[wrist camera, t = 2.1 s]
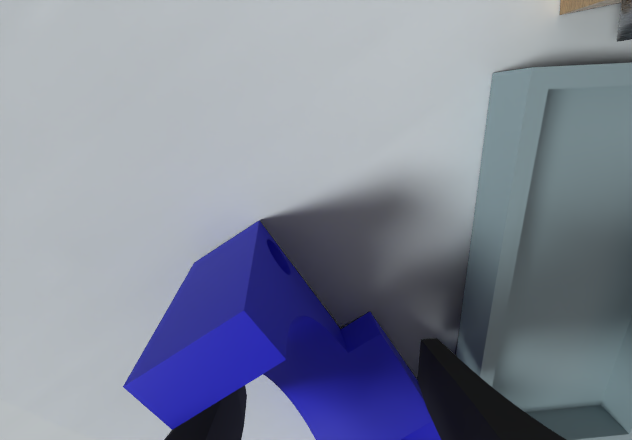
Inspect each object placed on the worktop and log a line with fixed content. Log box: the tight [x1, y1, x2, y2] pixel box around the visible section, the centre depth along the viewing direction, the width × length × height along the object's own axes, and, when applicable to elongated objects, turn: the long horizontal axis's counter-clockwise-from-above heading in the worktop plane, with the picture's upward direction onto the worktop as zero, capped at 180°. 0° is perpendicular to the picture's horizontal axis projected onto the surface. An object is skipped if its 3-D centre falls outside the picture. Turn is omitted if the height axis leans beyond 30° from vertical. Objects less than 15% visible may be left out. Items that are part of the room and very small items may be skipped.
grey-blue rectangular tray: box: [456, 63, 632, 440], centre depth 13 cm, size 16×8×2 cm, turn 3°
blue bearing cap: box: [123, 221, 441, 440], centre depth 11 cm, size 12×4×6 cm, turn 32°
